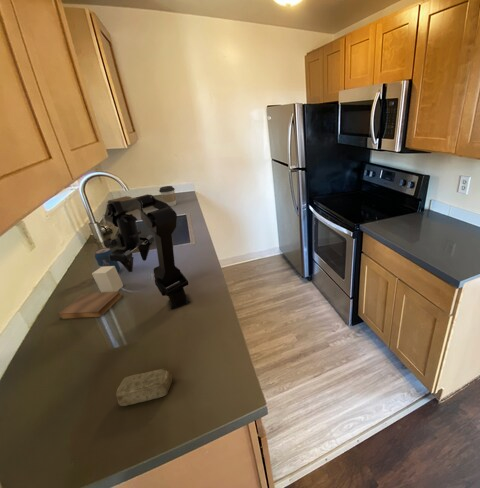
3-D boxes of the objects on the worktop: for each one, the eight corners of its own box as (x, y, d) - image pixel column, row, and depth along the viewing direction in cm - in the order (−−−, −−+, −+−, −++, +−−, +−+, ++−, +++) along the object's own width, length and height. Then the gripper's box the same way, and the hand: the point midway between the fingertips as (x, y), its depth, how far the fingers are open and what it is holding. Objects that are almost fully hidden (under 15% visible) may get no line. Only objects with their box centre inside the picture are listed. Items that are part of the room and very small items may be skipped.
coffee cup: (181, 204, 229) (176, 186, 222) (166, 208, 221) (161, 189, 215) (175, 202, 236) (170, 184, 229) (161, 205, 229) (156, 187, 222)
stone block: (169, 396, 70) (163, 383, 68) (118, 410, 68) (110, 396, 65) (174, 378, 75) (168, 365, 73) (127, 389, 73) (120, 376, 70)
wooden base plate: (122, 296, 112) (120, 291, 111) (101, 316, 100) (98, 311, 99) (86, 298, 111) (83, 293, 110) (61, 319, 100) (57, 313, 99)
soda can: (116, 268, 134) (107, 245, 128) (124, 271, 130) (114, 248, 125) (100, 274, 128) (90, 252, 123) (108, 278, 125) (97, 255, 120)
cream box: (123, 285, 119) (114, 265, 114) (115, 293, 114) (105, 272, 110) (110, 286, 119) (101, 266, 114) (101, 294, 114) (91, 273, 109)
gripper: (123, 220, 112) (131, 254, 119) (87, 238, 95) (100, 277, 102) (150, 221, 113) (158, 255, 119) (120, 240, 96) (131, 278, 102)
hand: (137, 265), depth 111 cm, fingers open, 9 cm apart
